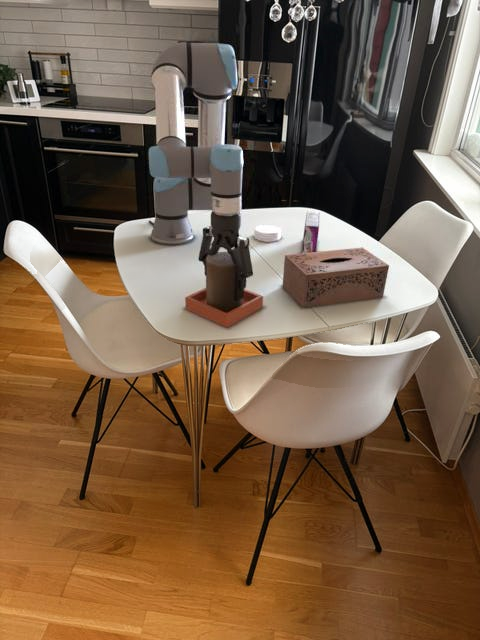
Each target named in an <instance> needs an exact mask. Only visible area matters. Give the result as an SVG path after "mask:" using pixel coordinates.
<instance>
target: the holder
mask: <svg viewBox="0 0 480 640" xmlns="http://www.w3.org/2000/svg"><path fill="white" fill-rule="evenodd" d="M206 296H207V293H206V287H204V288H202V289H200V290H198V291H196V292H193V293H192V294H189V295H187V296H185V297H184V300H185V301H184V302H185V303H184V304H185V305H184V306H185V308H184V309H185V310H187V311H189V312H192V313H194V314H196V315H198V316H201V317H203V318H205V319H207V320H209V321H212V322H213V323H215V324H218V325H220V326H222V327H224V328H229V327H231V326H233V325H235V324H236V323H237V322H240V321H241V320H243V319H244V318H246V317H248V316H250V315H252V314H254V313H255V312H257V311H258V310H260V309H263V307H264V296H263V295H261V294H259V293H256V292H254V291H251V290H249V289H246V288H245V289H244V298H242V305H241V306H239V307H238V308H236V309H234V310H232V311H230V312H228V313H225V312H223V311H221V310H218V309H216V308H214V307H211V306H209V305H207V299H206Z"/></svg>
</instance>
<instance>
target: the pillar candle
mask: <svg viewBox="0 0 480 640" xmlns="http://www.w3.org/2000/svg"><path fill="white" fill-rule="evenodd" d="M206 265H207V287H206V286H205V288H206V293H207V296H206V299H207V305H209V306H211V307H214V308H216V309H218V310H221V311H223V312H225V313H228V312H230V311H232V310H234V309H236V308H238V307H239V306H241V305H242V299H240V300H238V301H235V278H236V277H238V275H237V272H236V264H234V263H233V261H232V259H231V256H230V254H229V253H228V252H227V251H218V253H217V254H214V255H208V256H207V259H206Z"/></svg>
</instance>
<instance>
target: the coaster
mask: <svg viewBox="0 0 480 640" xmlns="http://www.w3.org/2000/svg"><path fill="white" fill-rule="evenodd" d="M253 231H254V232H253V233H254V234H253V238H254V239H256V240H257V241H259V242H266V243H271V242H278V241H279V240H281V237H282V233H281V232H282V229H281V228H280V227H279V226H276V225H274V224H273V225H272V224H261V225H257V226H255V227H254V230H253Z"/></svg>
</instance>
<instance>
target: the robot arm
mask: <svg viewBox="0 0 480 640" xmlns="http://www.w3.org/2000/svg"><path fill="white" fill-rule="evenodd" d="M150 76H151V77H150V79H151V80H150V81H151V86H152V89H153V90H154V91H155V92H154V95H155V97H154V98H155V135H156V136H155V137H156V138H155V139H156V145H154V146H150V147H149V149H148V166H149V174H150V176H151V177H152V178H154V179H153V197H154V214H155V218H154V221H152V220H148V223H149V224H151V226H153V228H152V230H151V232H150V233H151V240H152V241H153V242H154V243H156V244H160V245H166V246H167V245H168V246H177V245H183V244H188V243H190V242H192V240H193V239H194V230H193V228H192V225H191V222H190V219H189V212H188V211H211V213H210V225H209V226H205V227H203V228H202V240H201V244H200V248H199V254H198V262H201V263H203V266H204V276H205V288H206V287H207V265H206V259H207V256H208V255H214V254H217V253H218V252H220V249H221V248H223V249H224V250H226V252H228V253H229V254H230V256H231V259H232V261H233V263H234V264H236V272H237V275H238V277H236V278H235V301H238V300H240V299H242V298H244V289H246V287H247V279H249V278H250V277H252V276H254V270H253V269H254V268H253V263H252V257H251V251H250V241H251V239H250V238H249V237H245V238H244V237H242V236H241V235H240V228H241V225H242V213H241V211H242V204H243V203H242V202H243V201H242V200H243V198H242V194H243V192H242V190H243V188H242V187H243V169H244V168H243V167H244V153H243V152H244V151H243V149H242V147H241V146H239V145H236V144H231V143H230V144H229V143H227V144H226V143H225V137H226V136H225V134H226V133H225V132H226V114H227V113H226V112H227V100H229V99H230V98H231V97H232V93H233V92H232V90H236V89H237V88H238V68H237V59H236V55H235V49H234V47H233V46H232V45H230V44H227V43H226V44H225V43H219V42H186V41H182V42H176V43H173V44H171V45H169V46H168V47H166V48H164V50H163V51H161V53H160V54H159V55H158V57H156V60H155V61H154V63H153V66H152V68H151V75H150ZM186 88H187V89H188V88H189V89H192V90H193V91H192V93H193V95H194V96H195V98H197V103H198V104H197V105H198V106H197V111H198V112H197V115H198V116H197V146H187V139H186V138H187V137H186V124H185V107H184V91H185V89H186Z"/></svg>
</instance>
